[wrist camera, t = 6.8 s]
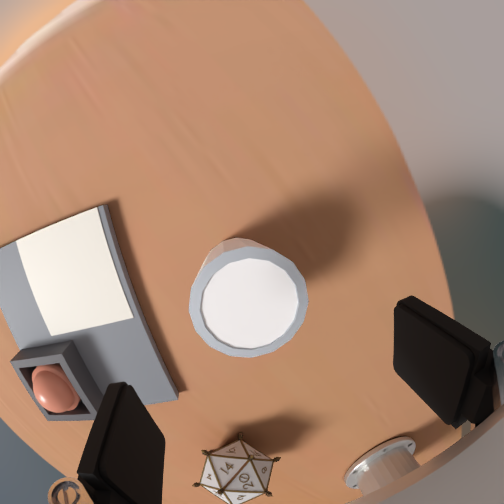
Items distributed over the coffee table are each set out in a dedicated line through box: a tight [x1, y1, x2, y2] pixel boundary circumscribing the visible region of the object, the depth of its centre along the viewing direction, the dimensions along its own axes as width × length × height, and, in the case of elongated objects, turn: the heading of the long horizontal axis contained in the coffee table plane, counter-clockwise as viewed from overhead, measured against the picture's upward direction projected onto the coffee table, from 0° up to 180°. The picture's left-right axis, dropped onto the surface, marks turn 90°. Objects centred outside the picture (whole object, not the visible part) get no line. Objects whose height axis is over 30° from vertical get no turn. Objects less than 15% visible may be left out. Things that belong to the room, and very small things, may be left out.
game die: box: [192, 432, 281, 504], centre depth 23 cm, size 9×8×10 cm
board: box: [0, 205, 179, 421], centre depth 20 cm, size 18×15×4 cm
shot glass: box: [189, 238, 309, 358], centre depth 19 cm, size 7×7×7 cm
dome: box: [32, 363, 81, 413], centre depth 19 cm, size 5×5×4 cm
